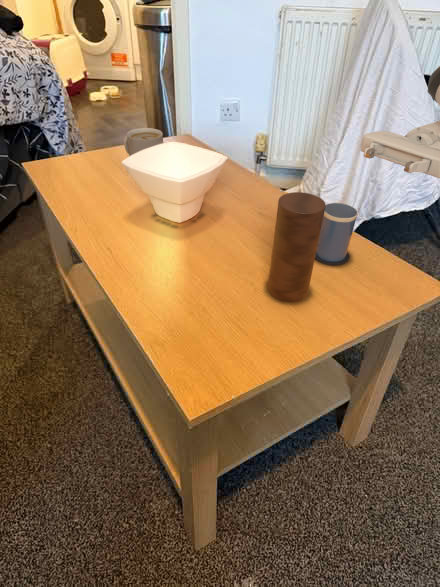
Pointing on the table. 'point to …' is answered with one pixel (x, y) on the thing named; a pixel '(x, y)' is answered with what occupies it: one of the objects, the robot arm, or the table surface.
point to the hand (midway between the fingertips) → (386, 160)
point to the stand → (295, 245)
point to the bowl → (175, 177)
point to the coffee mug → (142, 139)
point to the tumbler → (336, 231)
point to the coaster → (332, 262)
